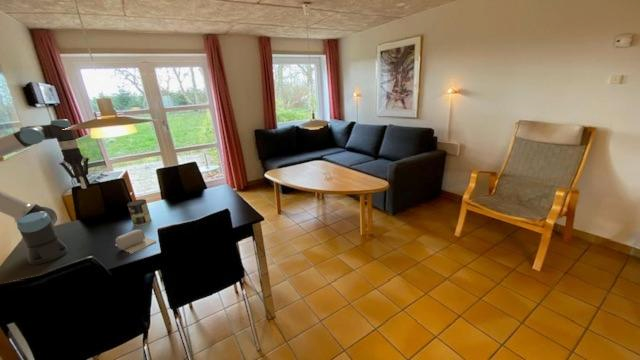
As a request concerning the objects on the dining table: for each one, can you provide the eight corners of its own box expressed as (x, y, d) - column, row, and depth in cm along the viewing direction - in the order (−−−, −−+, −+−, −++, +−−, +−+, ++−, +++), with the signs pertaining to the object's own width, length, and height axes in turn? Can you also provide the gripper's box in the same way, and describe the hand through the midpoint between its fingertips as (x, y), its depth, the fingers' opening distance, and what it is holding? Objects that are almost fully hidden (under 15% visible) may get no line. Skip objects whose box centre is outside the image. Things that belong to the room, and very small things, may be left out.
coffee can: (138, 227, 169) (132, 206, 165) (130, 223, 175) (124, 203, 170) (154, 220, 178) (149, 200, 173) (146, 217, 183) (141, 198, 178)
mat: (131, 254, 140) (131, 253, 140) (115, 245, 149) (115, 244, 149) (156, 241, 150) (156, 241, 150) (139, 234, 160) (139, 233, 159)
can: (121, 244, 139) (145, 233, 148) (113, 235, 141) (138, 225, 150) (122, 253, 142) (146, 242, 152) (115, 244, 145) (139, 234, 154)
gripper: (56, 151, 141) (72, 192, 149) (86, 146, 152) (100, 185, 159) (51, 150, 145) (67, 190, 152) (81, 145, 155) (94, 183, 163)
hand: (84, 187), depth 156 cm, fingers closed
